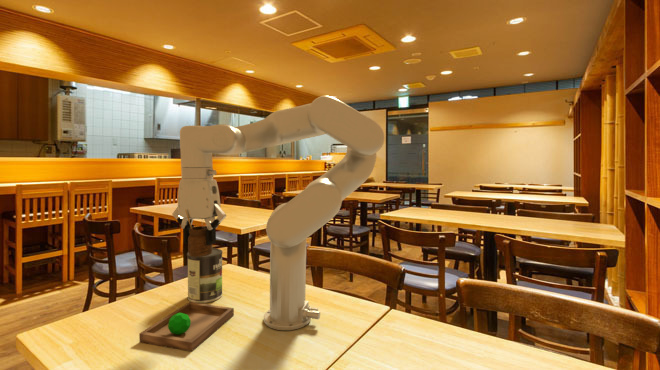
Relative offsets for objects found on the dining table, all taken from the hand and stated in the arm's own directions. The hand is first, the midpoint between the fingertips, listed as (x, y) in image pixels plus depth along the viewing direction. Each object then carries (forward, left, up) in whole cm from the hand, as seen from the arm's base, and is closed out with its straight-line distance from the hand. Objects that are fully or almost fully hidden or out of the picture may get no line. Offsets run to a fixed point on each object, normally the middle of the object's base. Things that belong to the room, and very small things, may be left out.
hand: (199, 242), depth 87 cm
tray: (0, +4, -21) cm, 21 cm away
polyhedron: (0, +8, -21) cm, 22 cm away
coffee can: (+8, -14, -21) cm, 27 cm away
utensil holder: (0, 0, -3) cm, 3 cm away
